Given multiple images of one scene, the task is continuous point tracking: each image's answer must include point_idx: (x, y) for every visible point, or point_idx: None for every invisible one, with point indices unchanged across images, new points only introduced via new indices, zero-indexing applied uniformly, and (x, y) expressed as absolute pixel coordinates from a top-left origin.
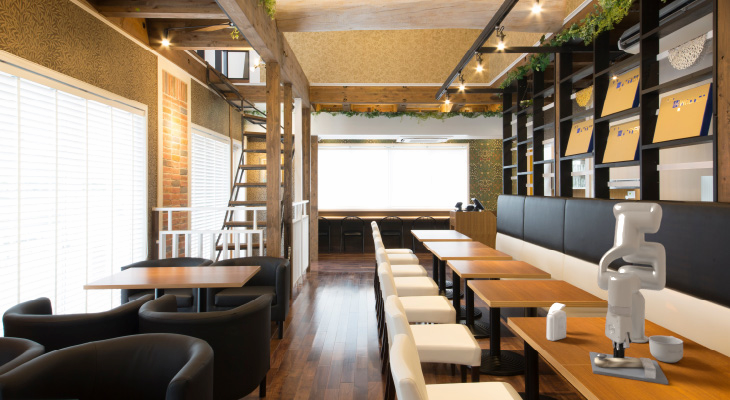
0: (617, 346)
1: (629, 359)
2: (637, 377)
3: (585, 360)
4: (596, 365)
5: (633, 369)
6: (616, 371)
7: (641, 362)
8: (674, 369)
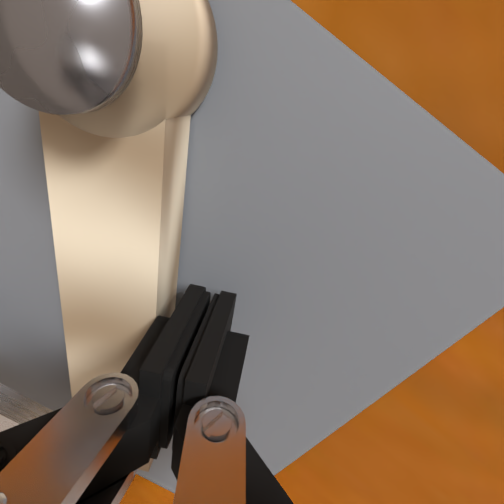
0: (87, 423)
1: (119, 371)
2: None
3: (429, 19)
4: None
5: None
6: None
7: (11, 391)
8: (136, 500)
